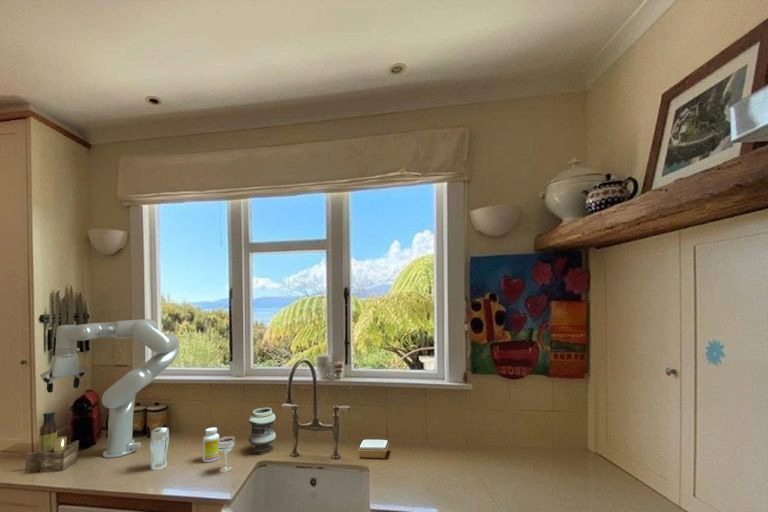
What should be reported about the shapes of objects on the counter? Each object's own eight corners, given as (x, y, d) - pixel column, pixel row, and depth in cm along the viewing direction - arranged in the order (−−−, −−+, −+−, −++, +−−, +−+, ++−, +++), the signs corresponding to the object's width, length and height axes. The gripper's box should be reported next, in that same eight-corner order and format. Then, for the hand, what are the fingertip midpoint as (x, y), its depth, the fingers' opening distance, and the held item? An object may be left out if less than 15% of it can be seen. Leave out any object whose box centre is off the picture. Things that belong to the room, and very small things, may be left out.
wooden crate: (86, 455, 176) (87, 438, 177) (63, 470, 160) (64, 452, 161) (46, 458, 173) (47, 441, 174) (18, 474, 157) (19, 456, 158)
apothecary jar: (243, 455, 172) (244, 413, 174) (255, 444, 184) (256, 406, 186) (269, 455, 170) (269, 413, 172) (279, 445, 182) (280, 406, 184)
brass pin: (66, 465, 166) (68, 436, 167) (60, 469, 162) (62, 439, 163) (56, 465, 165) (58, 436, 166) (50, 469, 161) (52, 440, 162)
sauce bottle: (60, 454, 178) (63, 410, 180) (47, 460, 171) (50, 414, 174) (47, 454, 178) (50, 410, 180) (33, 459, 172) (37, 414, 174)
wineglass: (230, 473, 154) (230, 441, 155) (213, 473, 154) (214, 442, 156) (237, 465, 161) (237, 435, 162) (221, 465, 161) (221, 436, 162)
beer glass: (148, 471, 157) (149, 433, 159) (149, 465, 163) (151, 428, 165) (167, 468, 160) (169, 430, 162) (168, 462, 166) (169, 426, 168)
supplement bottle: (221, 459, 168) (222, 428, 169) (206, 464, 163) (206, 432, 165) (215, 455, 172) (215, 425, 174) (199, 459, 168) (200, 429, 169)
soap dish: (389, 451, 173) (389, 439, 174) (386, 460, 163) (386, 447, 164) (362, 450, 175) (362, 438, 175) (358, 459, 165) (358, 446, 166)
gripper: (83, 349, 187) (81, 385, 185) (38, 354, 172) (35, 393, 170) (91, 349, 183) (89, 386, 181) (45, 354, 168) (42, 395, 166)
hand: (63, 389), depth 175 cm, fingers open, 9 cm apart
